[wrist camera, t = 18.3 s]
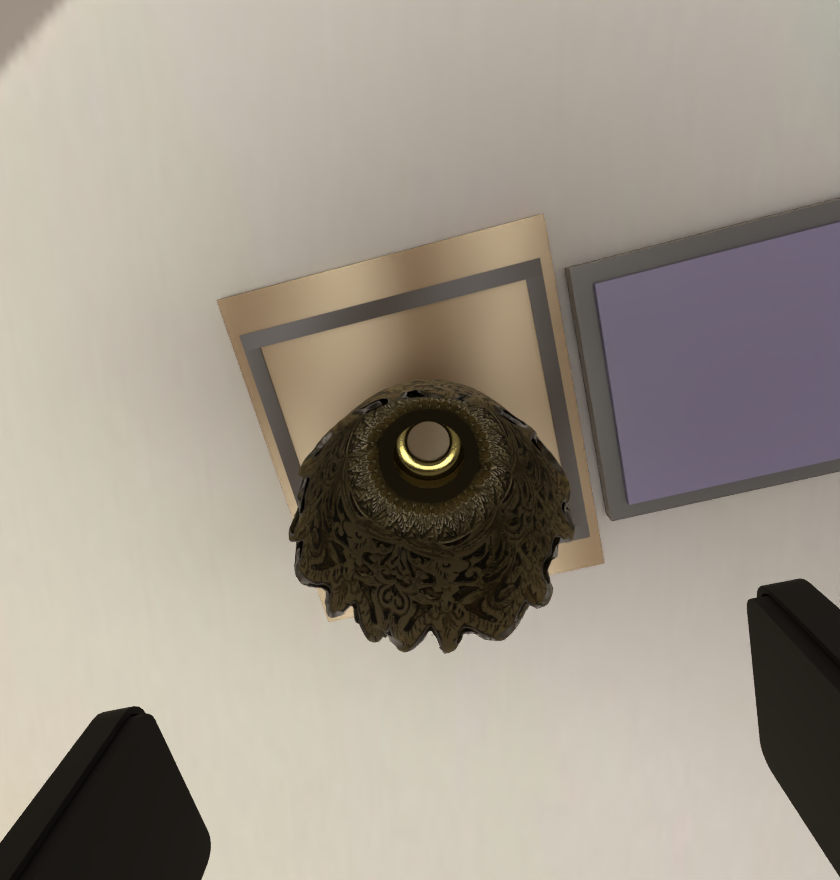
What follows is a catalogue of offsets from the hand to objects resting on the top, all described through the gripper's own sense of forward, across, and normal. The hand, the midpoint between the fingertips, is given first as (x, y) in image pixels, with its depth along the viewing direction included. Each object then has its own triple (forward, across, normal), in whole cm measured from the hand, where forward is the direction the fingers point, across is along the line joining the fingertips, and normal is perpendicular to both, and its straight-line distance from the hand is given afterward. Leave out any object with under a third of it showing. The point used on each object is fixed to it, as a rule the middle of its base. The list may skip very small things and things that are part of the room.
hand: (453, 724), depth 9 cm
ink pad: (+15, -11, 0) cm, 18 cm away
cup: (+14, +1, 0) cm, 14 cm away
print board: (+15, +1, 0) cm, 15 cm away
